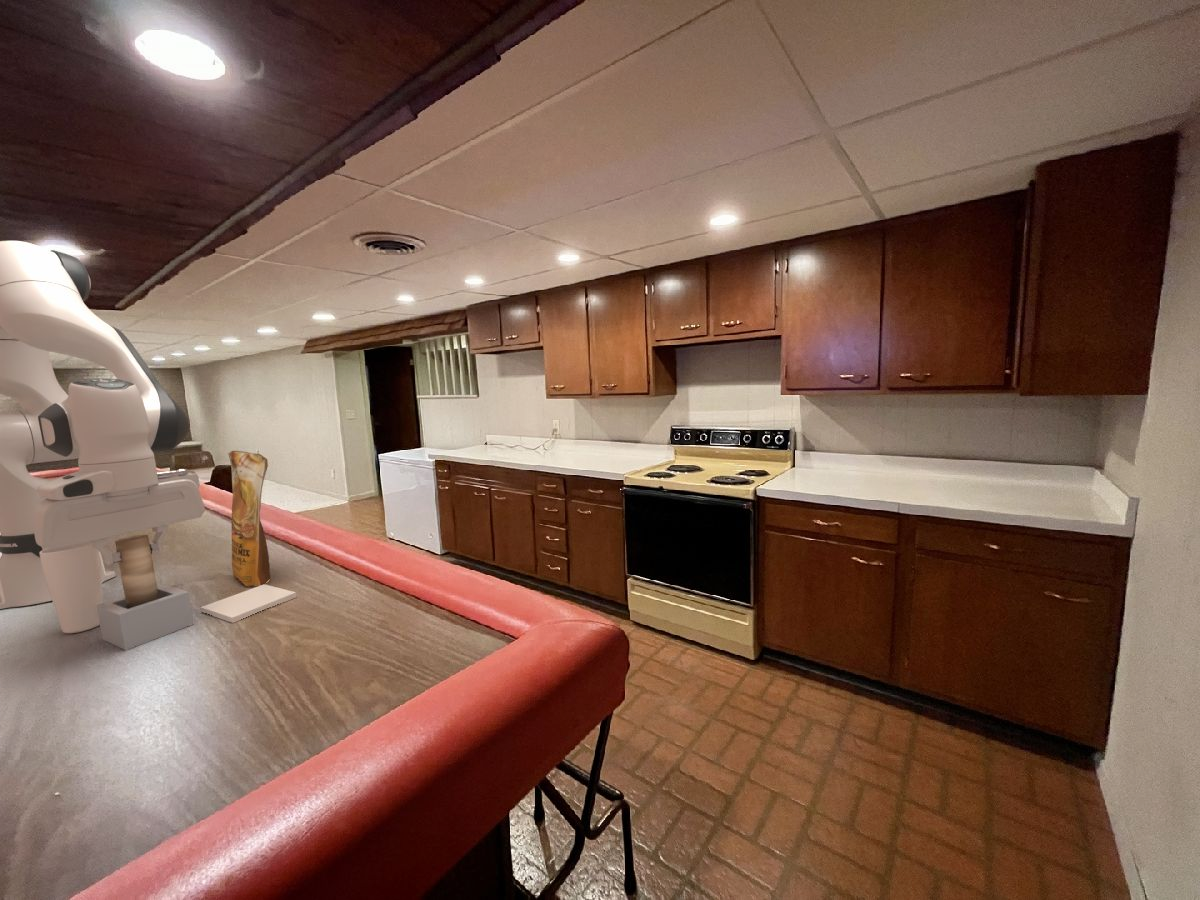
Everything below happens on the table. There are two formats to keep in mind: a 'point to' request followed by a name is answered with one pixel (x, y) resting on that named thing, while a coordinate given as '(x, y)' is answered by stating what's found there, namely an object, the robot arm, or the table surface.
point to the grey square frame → (145, 618)
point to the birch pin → (137, 570)
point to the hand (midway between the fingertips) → (135, 557)
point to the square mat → (248, 603)
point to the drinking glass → (74, 585)
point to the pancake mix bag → (248, 519)
